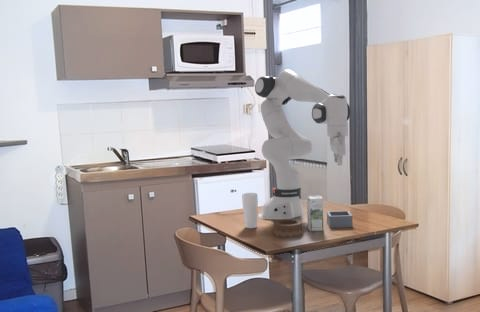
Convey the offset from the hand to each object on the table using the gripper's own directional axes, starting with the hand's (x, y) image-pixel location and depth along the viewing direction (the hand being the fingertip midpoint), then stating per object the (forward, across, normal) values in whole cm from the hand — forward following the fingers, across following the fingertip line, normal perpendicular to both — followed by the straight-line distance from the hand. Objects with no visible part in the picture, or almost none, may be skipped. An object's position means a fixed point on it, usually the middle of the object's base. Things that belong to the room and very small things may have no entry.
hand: (338, 163), depth 220 cm
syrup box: (+27, -8, +11) cm, 31 cm away
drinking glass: (+27, 0, +39) cm, 48 cm away
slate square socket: (+27, 0, 0) cm, 27 cm away
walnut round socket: (+27, -13, +23) cm, 38 cm away
